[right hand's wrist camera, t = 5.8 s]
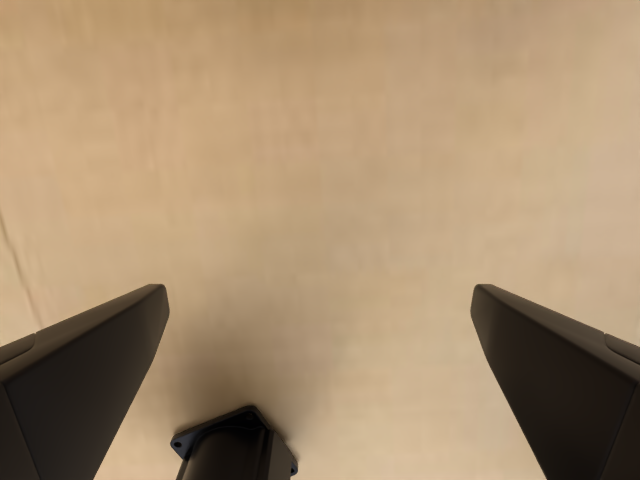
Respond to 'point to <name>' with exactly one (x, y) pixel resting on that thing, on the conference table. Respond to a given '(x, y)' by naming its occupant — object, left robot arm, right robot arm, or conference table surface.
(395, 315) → the conference table surface
